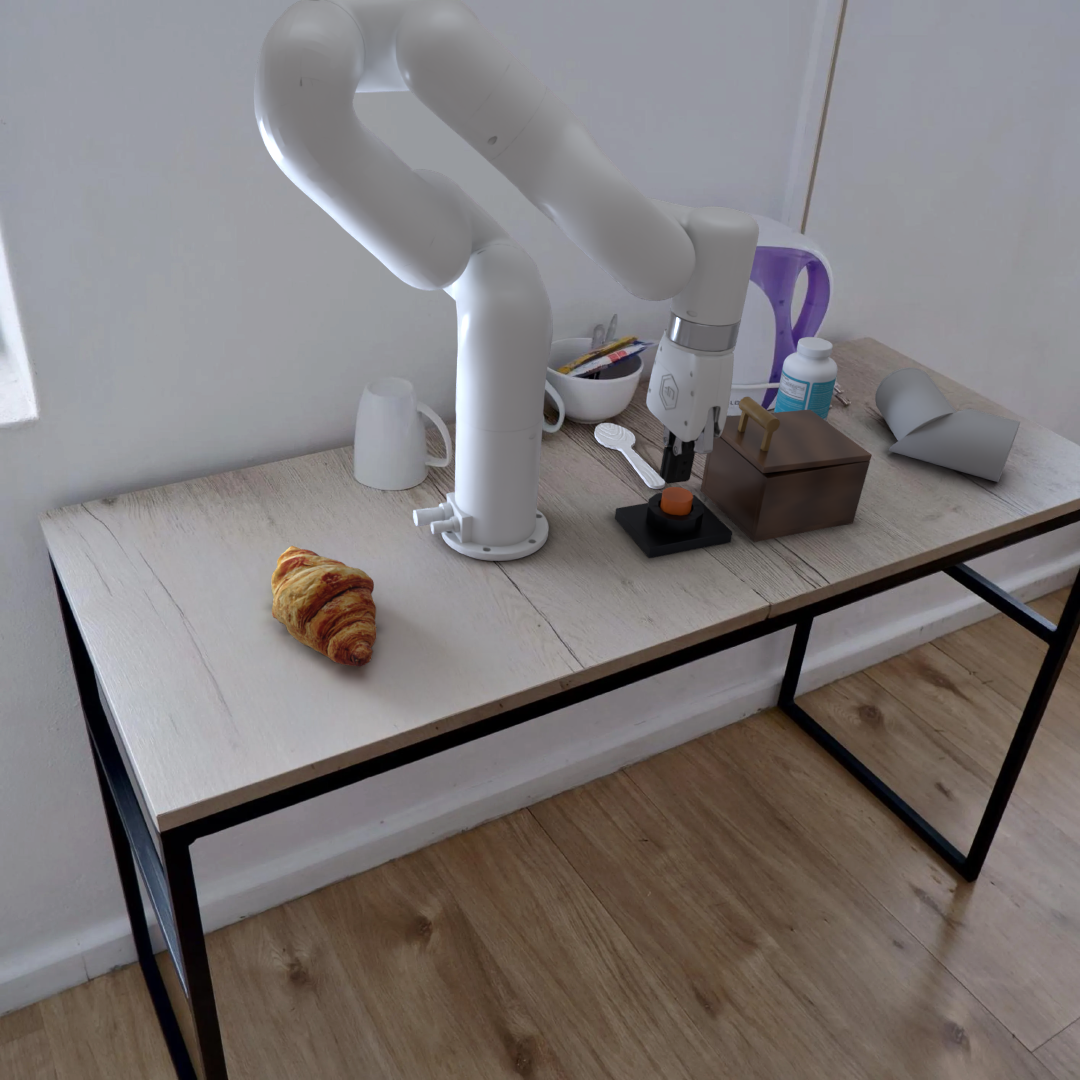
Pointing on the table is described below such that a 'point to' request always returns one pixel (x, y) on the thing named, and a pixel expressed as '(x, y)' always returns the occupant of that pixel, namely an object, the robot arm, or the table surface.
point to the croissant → (325, 605)
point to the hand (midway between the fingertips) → (674, 478)
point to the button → (676, 501)
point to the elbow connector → (942, 426)
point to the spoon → (627, 451)
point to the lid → (788, 439)
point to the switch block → (672, 527)
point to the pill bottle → (808, 378)
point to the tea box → (781, 494)
